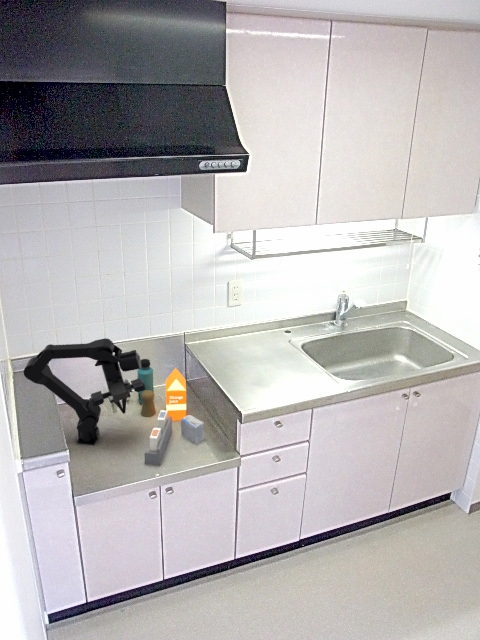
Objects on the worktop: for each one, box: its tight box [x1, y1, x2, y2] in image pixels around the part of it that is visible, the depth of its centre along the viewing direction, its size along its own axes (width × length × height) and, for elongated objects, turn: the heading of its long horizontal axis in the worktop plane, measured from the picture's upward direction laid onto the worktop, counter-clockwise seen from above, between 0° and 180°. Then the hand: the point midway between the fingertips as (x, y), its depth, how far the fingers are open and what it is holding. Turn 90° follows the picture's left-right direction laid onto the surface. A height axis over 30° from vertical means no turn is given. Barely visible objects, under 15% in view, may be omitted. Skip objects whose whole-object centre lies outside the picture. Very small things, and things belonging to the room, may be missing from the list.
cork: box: [140, 390, 156, 418], centre depth 216 cm, size 6×6×11 cm
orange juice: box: [165, 367, 187, 422], centre depth 214 cm, size 8×9×20 cm
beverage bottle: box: [136, 358, 155, 404], centre depth 222 cm, size 6×7×20 cm
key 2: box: [156, 409, 168, 433], centre depth 201 cm, size 2×6×10 cm, turn 175°
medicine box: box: [180, 414, 205, 445], centre depth 203 cm, size 8×4×9 cm, turn 48°
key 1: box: [149, 427, 161, 452], centre depth 191 cm, size 2×6×10 cm, turn 175°
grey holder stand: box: [143, 416, 173, 466], centre depth 197 cm, size 7×20×8 cm, turn 175°
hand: (124, 412), depth 197 cm, fingers closed
